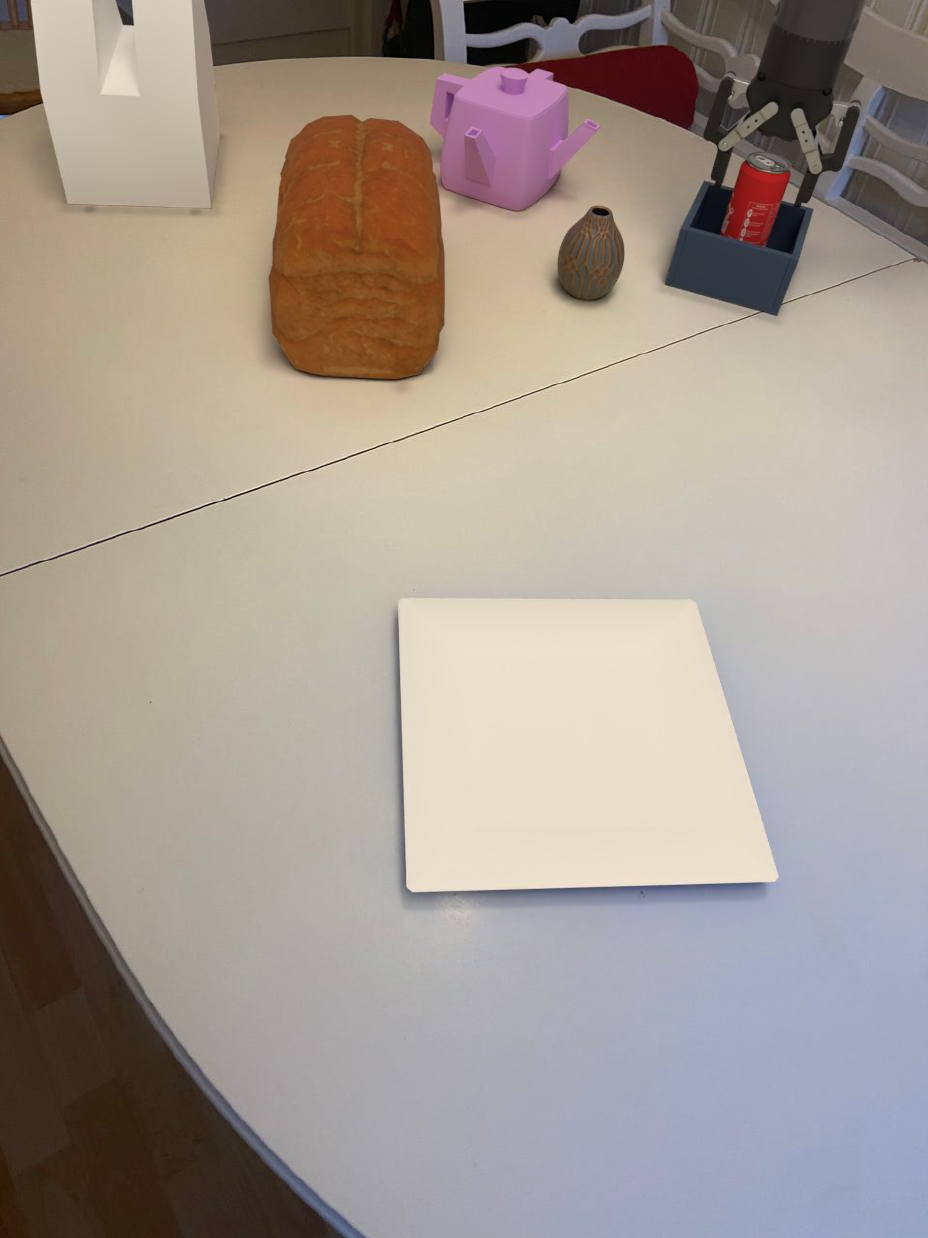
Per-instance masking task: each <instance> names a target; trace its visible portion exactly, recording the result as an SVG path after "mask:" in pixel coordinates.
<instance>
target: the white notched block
mask: <svg viewBox="0 0 928 1238" xmlns="http://www.w3.org/2000/svg"><path fill="white" fill-rule="evenodd" d="M131 5H132V18H133V25H129V24H123V20H122V16H121V14H120V10H119V6H118V4H117V1H116V0H30V9H31V16H32V17H31V19H32V25H33V26H32V27H33V35H34V45H35V54H36V62H37V71H38V78H39V79H38V80H39V81H38V82H39V89H40V95H41V99H42V103H43V108H44V111H45V115H46V118H47V124H48V129H49V132H50V136H51V140H52V144H53V145H52V146H53V148H54V153H55V157H56V161H57V165H58V169H59V173H60V177H61V182H62V185H63V189H64V190H63V191H64V195H65V199H66V202H67V205H89V206H90V205H94V206H117V207H118V206H119V207H120V206H121V207H123V206H124V207H126V206H127V207H150V208H151V207H152V208H181V209H183V208H184V209H212V205H213V198H214V197H213V196H214V189H215V180H216V173H217V164H218V155H219V148H220V139H221V128H220V116H219V109H218V107H219V106H218V99H217V98H218V97H217V89H216V80H215V71H214V62H213V54H212V53H213V52H212V42H211V35H210V33H211V32H210V28H209V22H208V21H209V20H208V16H207V11H206V5H205V0H131Z"/></svg>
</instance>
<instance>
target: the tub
mask: <svg viewBox="0 0 928 1238" xmlns="http://www.w3.org/2000/svg"><path fill="white" fill-rule="evenodd" d="M714 185H715V182H711V181H708V180H703V182H702V184H701V185H700V188H699V190H698V192H697V194H696V196H695V198H694V200H693V202H692V204H691V206H690V208H689V210H688V213H687V214H686V217H685V218H684V220H683V222H682V224H681V227H680V229H679V232H678V236H677V241H676V244H675V247H674V251H673V254H672V258H671V261H670V265H669V268H668V272H667V274H666V280H665V282H664V284H665V285H666V286H669V287H673V288H676V289H681V290H683V291H687V292H690V293H691V292H692V293H695V294H698V295H701V296H706V297H709V298H712V299H716V300H719V301H722V302H727V303H731V304H735V305H738V306H742V307H745V308H749V309H753V310H756V311H759V312H763V313H767V314H770V315H774V316H778V314H779V312H780V310H781V307H782V305H783V302H784V299H785V296H786V294H787V291H788V289H789V287H790V283H791V281H792V279H793V276H794V273H795V271H796V268H797V266H798V263H799V261H800V257H801V254H802V252H803V251H802V250H803V248H804V244H805V242H806V241H805V240H806V237H807V234H808V230H809V227H810V224H811V220H812V217H813V213H814V208H812V207H807V206H804V205H801V206H800V208H797V207H793V206H794V203H793V202H789V201H785V200H782V202H781V204H780V207H779V210H778V213H777V216H776V218H775V221H774V224H773V227H772V230H771V232H770V235H769V238H768V241H767V244H766V247H763V246H759V245H755V244H752V243H748V242H744V241H740V240H737V239H733V238H729V237H725V236H722V235H719V234H720V231H721V228H722V225H723V222H724V218H725V215H726V212H727V209H728V206H729V202H730V199H731V196H732V193H733V190H734V187H731V186H727V185H723V184H722V186H721V188H717V187H714Z"/></svg>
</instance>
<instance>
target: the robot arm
mask: <svg viewBox="0 0 928 1238" xmlns="http://www.w3.org/2000/svg"><path fill="white" fill-rule="evenodd" d="M866 1H867V0H778V1H777V3H776V4H775V8H774V14H773V15H774V16H773V19H772V22H771V24H770V28H769V32H768V35H767V39H766V41H765V45H764V47H763V50H762V51H763V52H762V55H761V58H760V61H759V65H758V68H757V72H756V74H755V76H754V77H753V78H752V79H751V80H749V79H746V78H742V77H739V76H737V73H736V72H735V71H734V70H728V71H727V72H726V73H725V74H724V75H723V77H722V79H721V81H720V83H719V86H718V89H717V92H716V95H715V98H714V101H713V103H712V107H711V109H710V113H709V116H708V119H707V121H706V124H705V128H704V130H703V134H702V136H703V139H704V140H705V141H706V142H711V143H713V144H714V145H715V146H716V149H717V150H716V155H715V159H714V161H713V165H712V169H711V172H710V180H711V181H713V182H714V183H715V185H714V187H717V188H721V186H722V185H723V183H724V181H725V178H726V174H727V171H728V168H729V164H730V162H731V158H732V155H733V152H734V148H735V145H737V144H738V143H739V142H740V141H741V140H744V139H745V138H746V137H748V136H749V135H750V134H751V133H753V132H754V131H755V130H757V131H758V132H759V133H760V136H762V137H768V138H769V137H770V138H771V137H773V138H774V137H775V138H776V137H777V138H778V139H780V140H782V141H784V142H788V143H792V141H796V140H798V142H799V145H800V148H801V151H802V154H803V155H804V157H805V160H806V162H807V167H806V170H805V173H804V176H803V178H802V181H801V184H800V186H799V188H798V192H797V194H796V197H795V200H794V203H793V204H794V206H793V207H797V208H800V206H802V204H805V205H807V204H808V203H809V202H810V201H811V199H812V196H813V194H814V191H815V188H816V186H817V183H818V180H819V177H820V176H821V174H823V173H824V172H833V173H837V172H840V171H841V170H842V168H843V166H844V163H845V160H846V157H847V154H848V150H849V147H850V145H851V141H852V139H853V136H854V132H855V130H856V126H857V125H858V121H859V118H860V114H861V110H862V104H863V103H862V102H861V100H859V99H853V100H851V101H850V102H845V101H839V100H835V97H834V91H835V88H836V85H837V82H838V79H839V76H840V74H841V71H842V68H843V66H844V63H845V60H846V58H847V55H848V52H849V49H850V47H851V44H852V41H853V39H854V35H855V33H856V31H857V29H858V27H859V25H860V20H861V17H862V14H863V11H864V8H865V5H866ZM742 94H745V99H746V102H747V105H748V108H749V110H748V111H747V112H746V113H745V114H744V115H743V116H741V118H740V119H738V121H736V123H734V124H733V125H732V126H731V127H729V128H728V129H726V128H725V127H723V126H721V125H722V122H723V118H724V116H725V112H726V109H727V107H728V104H729V103H734V102H735V101H737V99H738V98H739V96H740V95H742ZM830 115H833V117H834V126H835V127H836V128H837V129H840V131H839V134H838V138H837V140H836V144H835V147H834V150H833V152H829V153H828V152H827V153H825V152H824V149H823V146H822V143H821V142H822V141H821V136H820V132H819V129H818V125H819V124H820V123H822V122H823V121H824V120H825V119H827V118H828V117H829V116H830Z"/></svg>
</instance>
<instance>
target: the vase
mask: <svg viewBox="0 0 928 1238" xmlns="http://www.w3.org/2000/svg"><path fill="white" fill-rule="evenodd" d="M625 254H626V253H625V243H624V239H623V236H622V233H621V232H620V230H619V228H618V226H617V223H616V222H615V219H614V214H613V211H612V210H611V209H610V208H608V207H606V206H604V205H593V206H591V207H589V209H587V211H586V213H585V214H584V215H583V216H582V217H581V218H580V219H578V220H577V222H575V223H574V224H573V225H572V226H571V227H570V228H569V229H568V231H567V232H566V233H565V235H564V236H563V239H562V241H561V243H560V246H559V250H558V254H557V262H556V263H557V264H556V265H557V273H558V278H559V281H560V283H561V285H562V286H563V288H564V289H565V291H566V292H567V293H568V294H570V295H571V296H573V297H575V298H577V299H580V300H584V301H585V300H586V301H587V300H588V301H591V300H597V299H600V298H601V297H603V296H604V295H606V294H608V293H609V292H610V291H611V290H613V288H614V287H615V285H616V284H617V282H618V280H619V278H620V277H621V274H622V271H623V268H624V264H625V263H624V262H625Z"/></svg>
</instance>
